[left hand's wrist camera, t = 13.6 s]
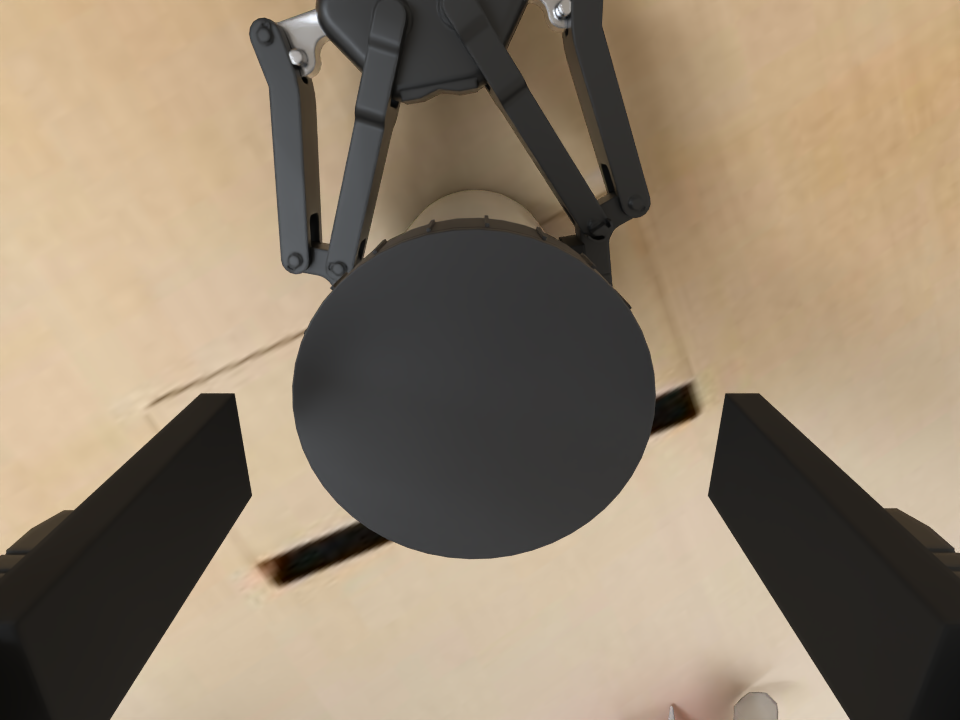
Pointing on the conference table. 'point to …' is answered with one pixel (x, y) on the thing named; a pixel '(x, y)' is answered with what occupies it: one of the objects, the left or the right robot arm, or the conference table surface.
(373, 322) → the lid
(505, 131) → the conference table surface
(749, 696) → the fish
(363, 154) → the right robot arm
